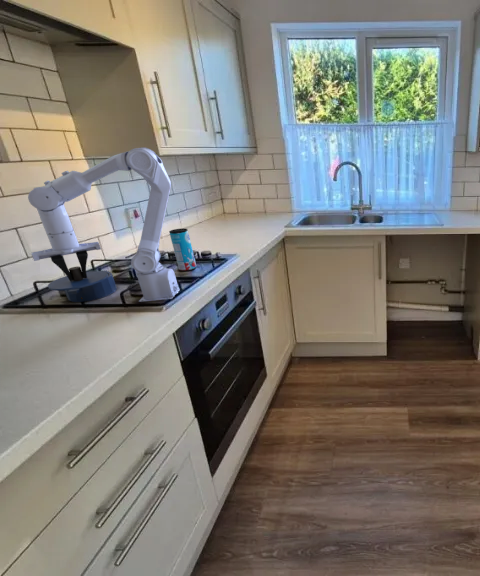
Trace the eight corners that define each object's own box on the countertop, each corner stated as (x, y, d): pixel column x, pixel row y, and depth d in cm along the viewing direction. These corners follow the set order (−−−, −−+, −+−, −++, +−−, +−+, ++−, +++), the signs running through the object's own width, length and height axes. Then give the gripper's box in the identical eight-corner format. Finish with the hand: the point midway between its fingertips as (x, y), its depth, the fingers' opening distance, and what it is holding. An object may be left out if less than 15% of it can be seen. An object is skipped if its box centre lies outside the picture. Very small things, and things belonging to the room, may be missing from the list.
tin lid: (117, 272, 111) (112, 258, 109) (94, 289, 99) (88, 274, 97) (67, 276, 109) (61, 262, 107) (37, 294, 96) (30, 278, 95)
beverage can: (195, 270, 134) (185, 231, 128) (177, 272, 133) (167, 233, 127) (198, 265, 140) (188, 227, 134) (181, 267, 138) (171, 229, 132)
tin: (127, 281, 126) (122, 267, 124) (100, 303, 110) (94, 287, 108) (86, 285, 124) (81, 270, 122) (53, 307, 108) (46, 291, 105)
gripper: (23, 240, 91) (45, 289, 96) (94, 229, 99) (110, 275, 105) (24, 235, 96) (44, 282, 101) (92, 225, 104) (107, 269, 110)
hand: (78, 278), depth 103 cm, fingers closed on tin lid, 2 cm apart
